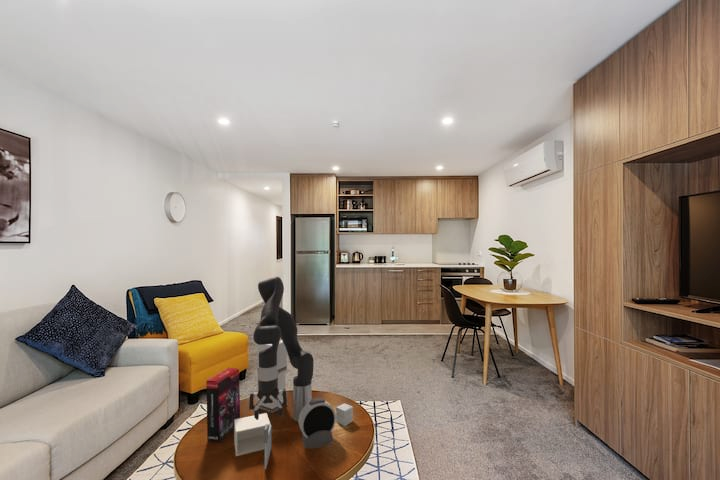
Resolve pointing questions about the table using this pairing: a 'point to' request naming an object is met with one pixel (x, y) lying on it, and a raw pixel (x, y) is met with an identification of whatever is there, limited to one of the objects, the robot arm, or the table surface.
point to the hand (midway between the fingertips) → (268, 417)
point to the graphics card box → (222, 404)
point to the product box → (344, 414)
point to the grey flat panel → (267, 443)
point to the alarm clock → (317, 423)
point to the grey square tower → (281, 373)
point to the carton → (250, 434)
